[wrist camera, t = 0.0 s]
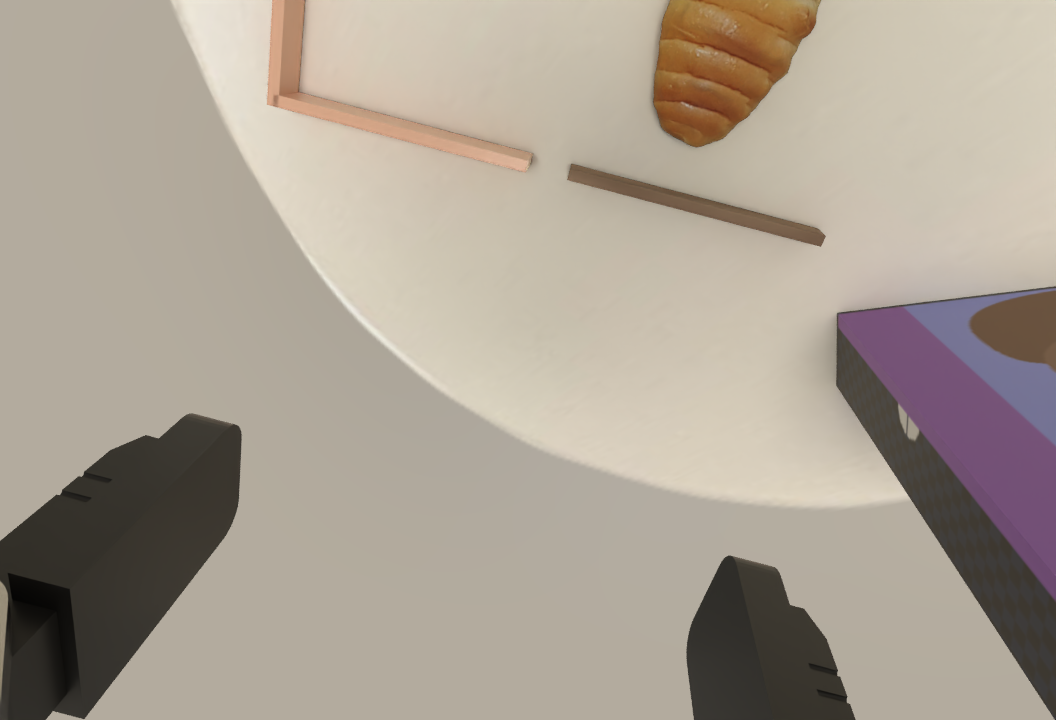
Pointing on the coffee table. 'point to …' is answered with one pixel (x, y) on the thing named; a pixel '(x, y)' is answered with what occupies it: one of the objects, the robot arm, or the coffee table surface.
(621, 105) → the coffee table surface
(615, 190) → the walnut chute
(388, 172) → the coffee table surface
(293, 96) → the terracotta pen
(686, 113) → the pastry
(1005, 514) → the cereal box
